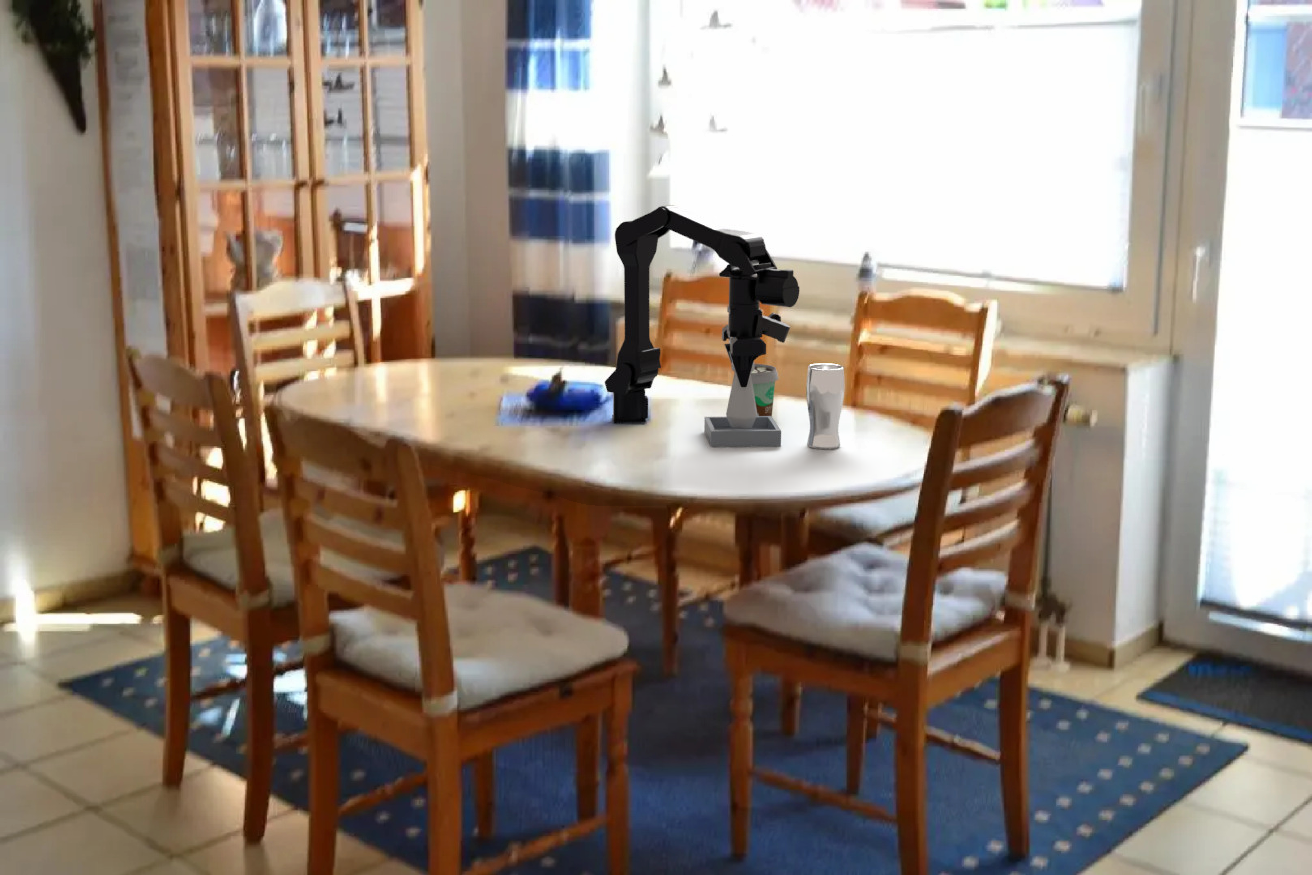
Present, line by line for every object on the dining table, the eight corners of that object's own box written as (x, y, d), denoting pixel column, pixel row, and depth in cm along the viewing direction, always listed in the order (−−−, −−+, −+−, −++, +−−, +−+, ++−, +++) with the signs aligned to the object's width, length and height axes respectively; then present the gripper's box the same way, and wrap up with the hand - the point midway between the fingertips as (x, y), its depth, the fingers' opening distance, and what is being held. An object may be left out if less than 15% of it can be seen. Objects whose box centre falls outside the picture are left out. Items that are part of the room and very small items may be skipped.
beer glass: (832, 452, 286) (834, 371, 283) (798, 447, 290) (800, 367, 286) (848, 444, 292) (851, 365, 289) (815, 440, 296) (817, 362, 292)
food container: (773, 424, 309) (774, 374, 307) (742, 423, 310) (743, 373, 308) (781, 412, 321) (782, 364, 319) (751, 410, 322) (752, 362, 320)
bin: (711, 447, 289) (711, 431, 289) (704, 431, 302) (704, 416, 301) (780, 446, 290) (781, 430, 290) (771, 431, 303) (771, 416, 302)
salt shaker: (735, 430, 292) (737, 362, 289) (720, 425, 297) (721, 357, 294) (762, 428, 295) (764, 360, 292) (747, 422, 300) (748, 355, 297)
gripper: (794, 309, 282) (792, 394, 285) (780, 295, 300) (777, 375, 304) (733, 309, 281) (731, 394, 285) (722, 295, 299) (720, 375, 303)
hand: (742, 385), depth 294 cm, fingers closed on salt shaker, 4 cm apart
